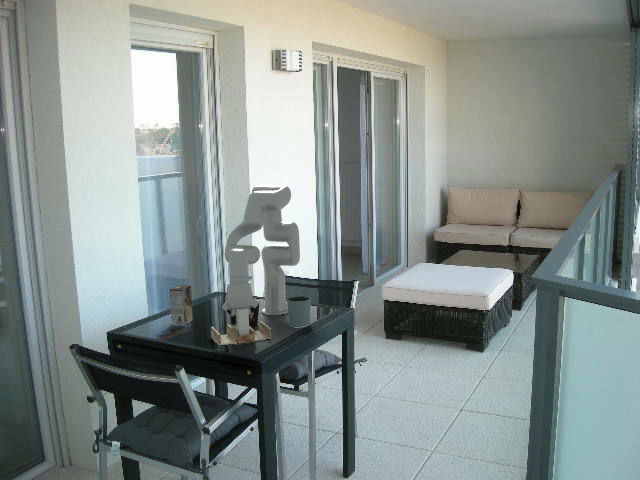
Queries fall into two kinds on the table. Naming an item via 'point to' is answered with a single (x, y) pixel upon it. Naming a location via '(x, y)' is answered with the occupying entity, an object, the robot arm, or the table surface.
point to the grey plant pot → (299, 310)
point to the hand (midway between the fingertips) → (240, 323)
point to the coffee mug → (254, 316)
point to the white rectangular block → (242, 321)
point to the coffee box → (181, 305)
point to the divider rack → (234, 338)
